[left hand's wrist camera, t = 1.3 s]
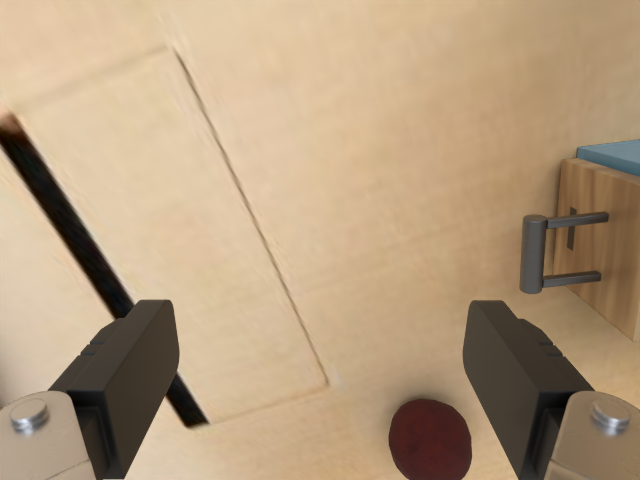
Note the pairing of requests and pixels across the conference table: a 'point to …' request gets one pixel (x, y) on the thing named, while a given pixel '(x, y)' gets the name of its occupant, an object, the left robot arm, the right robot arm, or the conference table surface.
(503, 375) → the left robot arm
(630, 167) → the cabinet
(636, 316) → the drawer
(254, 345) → the conference table surface
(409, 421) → the potato
